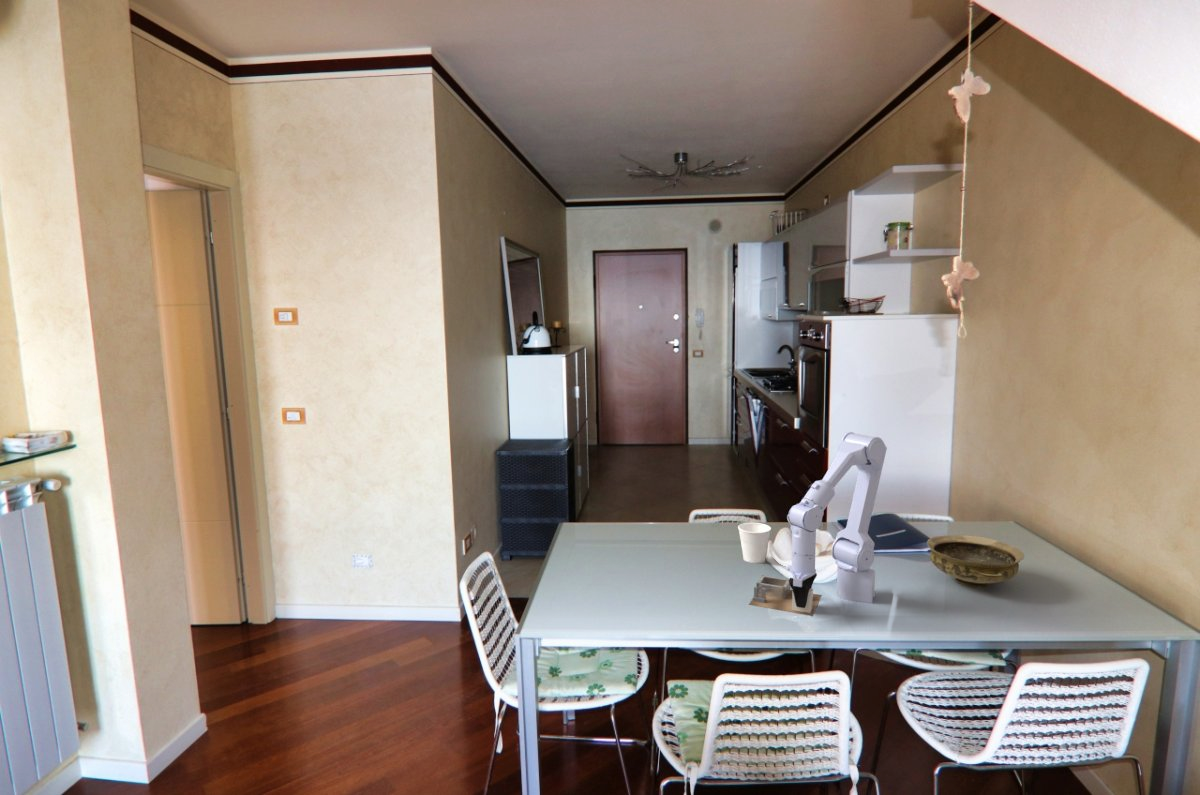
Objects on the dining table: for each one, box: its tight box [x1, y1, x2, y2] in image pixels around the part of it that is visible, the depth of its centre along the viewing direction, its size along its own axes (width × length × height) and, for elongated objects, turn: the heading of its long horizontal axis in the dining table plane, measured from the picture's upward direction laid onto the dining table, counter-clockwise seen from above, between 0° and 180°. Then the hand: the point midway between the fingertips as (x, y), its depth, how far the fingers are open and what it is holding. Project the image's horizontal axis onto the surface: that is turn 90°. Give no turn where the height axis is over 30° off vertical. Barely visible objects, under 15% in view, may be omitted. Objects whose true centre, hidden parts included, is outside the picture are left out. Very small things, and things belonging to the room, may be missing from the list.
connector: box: [791, 588, 814, 613], centre depth 176 cm, size 4×3×6 cm, turn 63°
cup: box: [737, 522, 772, 564], centre depth 211 cm, size 10×10×11 cm
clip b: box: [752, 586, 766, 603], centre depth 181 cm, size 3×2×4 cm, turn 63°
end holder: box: [755, 575, 791, 599], centre depth 187 cm, size 8×6×3 cm
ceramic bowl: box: [926, 534, 1025, 588], centre depth 193 cm, size 30×24×10 cm
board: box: [748, 589, 823, 617], centre depth 182 cm, size 16×14×1 cm
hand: (802, 603), depth 176 cm, fingers open, 3 cm apart
